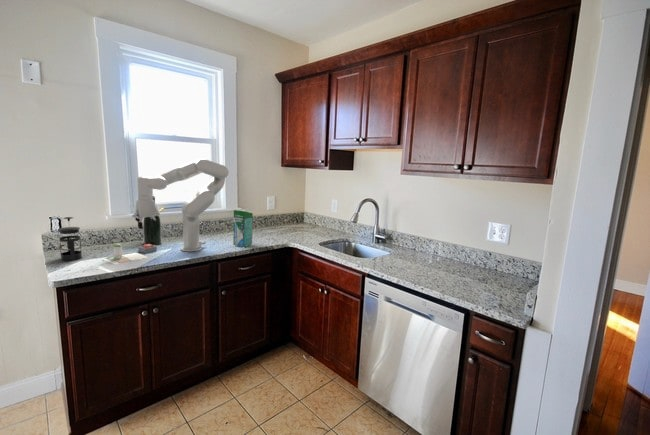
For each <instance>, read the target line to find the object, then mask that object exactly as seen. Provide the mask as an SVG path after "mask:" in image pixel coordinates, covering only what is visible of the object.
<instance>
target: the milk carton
mask: <svg viewBox="0 0 650 435" xmlns="http://www.w3.org/2000/svg"><path fill="white" fill-rule="evenodd" d="M253 215H254V214H253V212H249V210H248V209H242V210H236V209H233V245H235V246H234V247H238V246H241V247H240V248H243V247H244V248H246V247H245V246H247V247H249V246H248V245H251V244H252V245H253V218H254V216H253ZM233 245H232V246H233ZM252 245H251V246H252Z"/></svg>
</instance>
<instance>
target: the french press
mask: <svg viewBox="0 0 650 435" xmlns="http://www.w3.org/2000/svg"><path fill="white" fill-rule="evenodd" d="M71 219H74V216H73V217H72V216H68V217H63V220H67V222H68V223H67V224H68V226H67V227H66V226H65V227H60V228H58V231H59V233H60V234H61V235H63V236H61V237H59V238H58V239H59V240H58V241H59V251H60V261H62V262H73V261H74V262H75V261H79V260H82V259H83V255H82V240H81V236H80V235H73V234H77V233H80V229H81V228H80V227H78V226H70V221H71ZM64 235H66V236H64ZM77 241H79V245H75V242H77ZM61 242H65V243H66V242H67V246H62V244H61ZM78 249H80V250H78ZM62 251H64V252H62Z"/></svg>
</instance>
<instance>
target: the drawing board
mask: <svg viewBox="0 0 650 435" xmlns="http://www.w3.org/2000/svg"><path fill="white" fill-rule="evenodd" d="M147 258H149V256H148V255H147V256H146V255H144V254H141V253H139V252H132V253H127V254H126V253H125V254H122V259H114V256H110V257H107V258H102V259H101V260H102V261H104V262H106V263H110V264H112V265H119V264H124V263H129V262H134V261H138V260H142V259H147Z"/></svg>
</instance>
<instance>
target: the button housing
mask: <svg viewBox="0 0 650 435" xmlns="http://www.w3.org/2000/svg"><path fill="white" fill-rule="evenodd" d="M137 248H138V253H143V254H151V253H155V252H157V249H158V248H157V245H151V247H149V248H144V245H140V246H138V247H137Z"/></svg>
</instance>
